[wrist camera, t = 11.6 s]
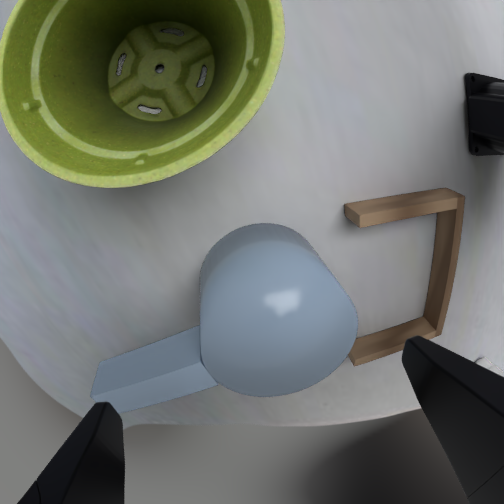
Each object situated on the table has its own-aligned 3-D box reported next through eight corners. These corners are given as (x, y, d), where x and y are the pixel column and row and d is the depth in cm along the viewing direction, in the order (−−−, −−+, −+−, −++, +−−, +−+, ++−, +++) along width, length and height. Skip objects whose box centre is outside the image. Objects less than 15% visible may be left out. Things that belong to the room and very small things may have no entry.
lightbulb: (470, 350, 30) (520, 410, 20) (498, 337, 30) (545, 389, 20) (454, 383, 32) (494, 441, 22) (482, 370, 33) (522, 420, 23)
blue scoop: (297, 202, 19) (339, 246, 13) (330, 300, 22) (367, 360, 17) (86, 298, 19) (56, 362, 14) (147, 372, 23) (139, 438, 17)
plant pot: (224, 166, 17) (242, 212, 9) (69, 143, 15) (-21, 174, 7) (264, 14, 14) (313, -54, 6) (105, -5, 12) (44, -69, 4)
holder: (446, 187, 20) (464, 196, 18) (428, 320, 25) (441, 334, 23) (344, 204, 19) (359, 215, 17) (344, 348, 25) (354, 366, 23)
